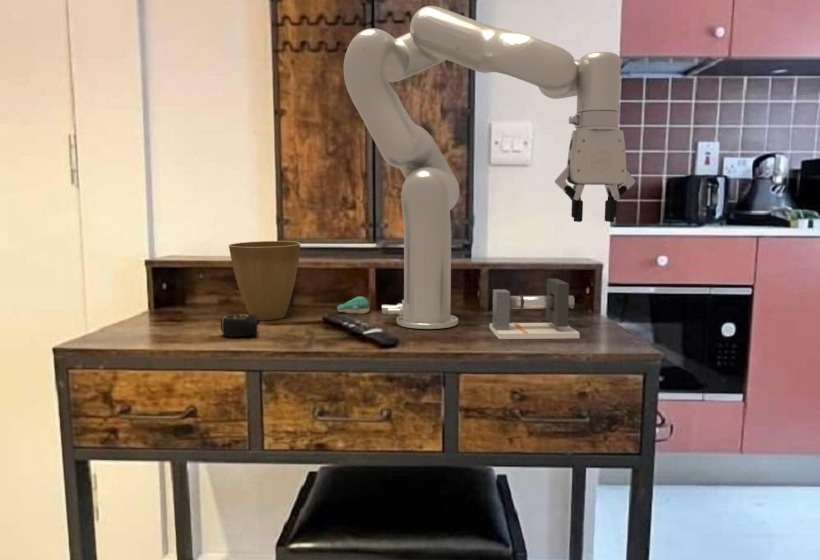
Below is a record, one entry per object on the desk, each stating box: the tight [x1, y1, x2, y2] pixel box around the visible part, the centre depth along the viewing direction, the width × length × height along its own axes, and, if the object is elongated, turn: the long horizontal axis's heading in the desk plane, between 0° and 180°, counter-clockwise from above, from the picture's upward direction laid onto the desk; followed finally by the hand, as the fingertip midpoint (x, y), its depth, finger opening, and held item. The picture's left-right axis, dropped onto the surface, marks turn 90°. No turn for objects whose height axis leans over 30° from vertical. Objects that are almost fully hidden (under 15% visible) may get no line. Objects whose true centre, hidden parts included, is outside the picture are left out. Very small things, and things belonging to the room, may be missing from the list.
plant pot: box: [228, 240, 301, 321], centre depth 140 cm, size 15×15×16 cm
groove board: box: [489, 322, 581, 340], centre depth 125 cm, size 15×10×1 cm, turn 93°
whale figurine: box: [336, 295, 371, 315], centre depth 147 cm, size 6×7×4 cm
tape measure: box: [220, 313, 260, 338], centre depth 123 cm, size 7×7×4 cm
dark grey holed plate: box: [545, 278, 570, 327], centre depth 125 cm, size 2×8×8 cm, turn 3°
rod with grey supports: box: [491, 288, 575, 330], centre depth 125 cm, size 15×4×7 cm, turn 93°
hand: (593, 220), depth 123 cm, fingers open, 5 cm apart
